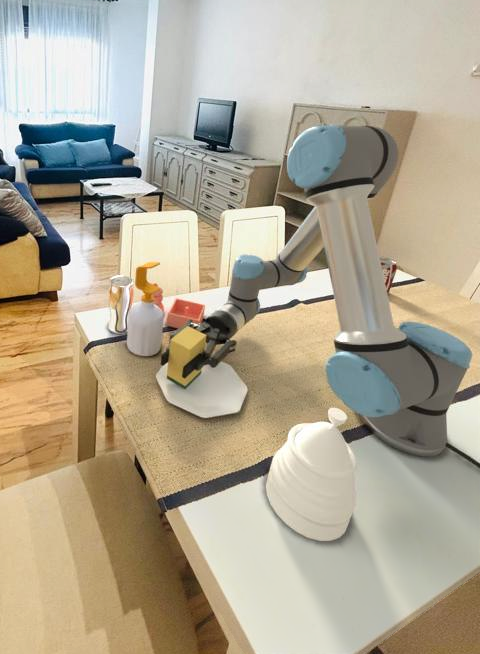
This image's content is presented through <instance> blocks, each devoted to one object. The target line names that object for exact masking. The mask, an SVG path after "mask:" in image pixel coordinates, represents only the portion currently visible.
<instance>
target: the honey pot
mask: <svg viewBox="0 0 480 654" xmlns="http://www.w3.org/2000/svg"><path fill="white" fill-rule="evenodd" d="M327 417H328V420H329V421H330V422H327V421H317V422H314V423H305V422H304V423H299V424H296V425H294V426H293V427H292V428H291V429H290V430H289V432H288V434H287V441H286V442H285V443H284V444H283V445H282V447H281V448H279V449H277V451H276V453H275V454H274V456H273V457H272V460H271V464H270V467H269V470H268V475H267V478H266V479H267V480H266V483H265V489H266V496H267V499H268V501H269V504H270V506H271V507H272V509H273V510H274V512H275V514H276V515H277V516H278V517H279V518H280V519H281V520H282V522H283V523H285V525H286V526H288V527H289V528H291V529H292V530H293V531H294V532H296V533H298V534H300V535H302V536H303V537H306V538H308V539H312V540H315V541H319V542H332V541H334V540H337V539H339V538H341V537H342V536H343V535H344V534H345V533H346V531H347V528H348V526H349V523H350V520H351V518H352V515H353V514H354V511H355V509H356V506H357V491H356V480H355V478H356V477H355V473H356V470H357V467H358V465H357V464H358V463H357V458H356V455H355V452H354V450H353V449H352V448H351V446H350V444H349V443H348V442H347V441H346V440H345V438H344V436H343V434H342V432H341V431H340V430H339V429H338V427H339V426H342V425H343V424H344V423H345V422H346V421H347V419H348V416H347V414H346V412H344V411H343V410H342V409H340V408H337V407H330V408H328V411H327Z"/></svg>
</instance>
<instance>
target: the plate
mask: <svg viewBox="0 0 480 654" xmlns="http://www.w3.org/2000/svg"><path fill="white" fill-rule="evenodd" d="M167 370H168V363H166V364H165V365H164V366H162V365H161V367H160V369H159V370H158V371H157V372H156V374H155V379H156V381H157V383H158V385H159V387H160V390H161V392H162V394H163V396H164V398H165V401H166V402H168V403H169V404H170V405H172V406H174V407H177V408H179V409H181V410H183V411H185V412H188V413H189V414H191V415H194V416H196V417H199V418H200V419H205V420H206V419H213V418H217V417H223V416H229V415H234V414H235V415H236V414H238V413H239V412H240V411H241V408H242V406H243V404H244V401H245V399H246V396H247V394H248V392H249V389H248V386H247V385H246V384H245V383H244V381H243V379H242V378H241V377H240V376H239V375H238V373H237V371H236V370H235V369H234V367H233V366H232V365H230V364H229V363H226V362H223V361H221V362H220V363H219V364H218V365H217V366H216V367H215V368H212V367H211V366H210V365H204V366H203V367H202V371H201V374H200V375H199V376H198V377H197V378H196V379H195V380H194V381H193V382H192V383H191V384H190V385H189V386H188V387H187V388H186V389H183V388H181V387H180V386H178V385H177V384H175V383H173V382H172V381H170V380H168V379H167Z"/></svg>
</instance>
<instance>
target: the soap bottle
mask: <svg viewBox="0 0 480 654" xmlns="http://www.w3.org/2000/svg"><path fill="white" fill-rule="evenodd" d="M160 265H161V262H159V261H148V262H145V263H144V264H142V265H138V266H137V267H136V269H135V280H134V285H135V288H136V289H137V290H139V291H142V293H143V295H141V298H140V302H139V303H137V304H135V305H132V307H131V310H130V312H129V318H128V332H126V333H127V334H126V346H127V349H128V350H129V351H130V352H131V353H132V354H134V355H137V356H140V357H151V356H154V355H156V354H158V353H159V352H160V350H161V347H162V339H163V330H164V321H165V320H164V319H165V315H164V312H162V310H161V309H160V308H159V307H158V306H156V305H155V304H154V296H152V295H151V294H153V293H155V292H157V291H159V289H160V288H161V287H160V286H159V287H160V288H159V287H157V286H155V285H153V284H154V283H150V282H149V281H148V279H147V276H148V275H147V274H148V269H154V268H155V267H157V266H160Z"/></svg>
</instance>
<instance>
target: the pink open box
mask: <svg viewBox="0 0 480 654" xmlns="http://www.w3.org/2000/svg"><path fill="white" fill-rule="evenodd" d="M152 284H153V285H155V286H157V287H159V288H160V289H159V291H157V292H155V293H153V294H151V295H152V296H154V304H155V305H156V306H158V307H159V308H160V309H161V310H162V312H163V313H164V311H165V305H164V304H163V300H164V297H163V292H164V291H163V288H162V287H160V286H159V284H158V283H152ZM205 309H206V304H203V303H199V302H194V301H191V300H190V301H189V300H185V299H182V298H176V297H175V299H174V301H173V303H172V305H171V306H170V308H169V311H168V312H167V319H166V326H168V327H170V328H174V329H177V330H178V329H179V328H181V327H182V326H184V325H185V324H186V323H187V321H188V320H189V319H190V320H192V321H193V322H192V323H195V324H199V323H202V322H203V319H204V317H205V315H204V314H205ZM195 330H196V329H195Z"/></svg>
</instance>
